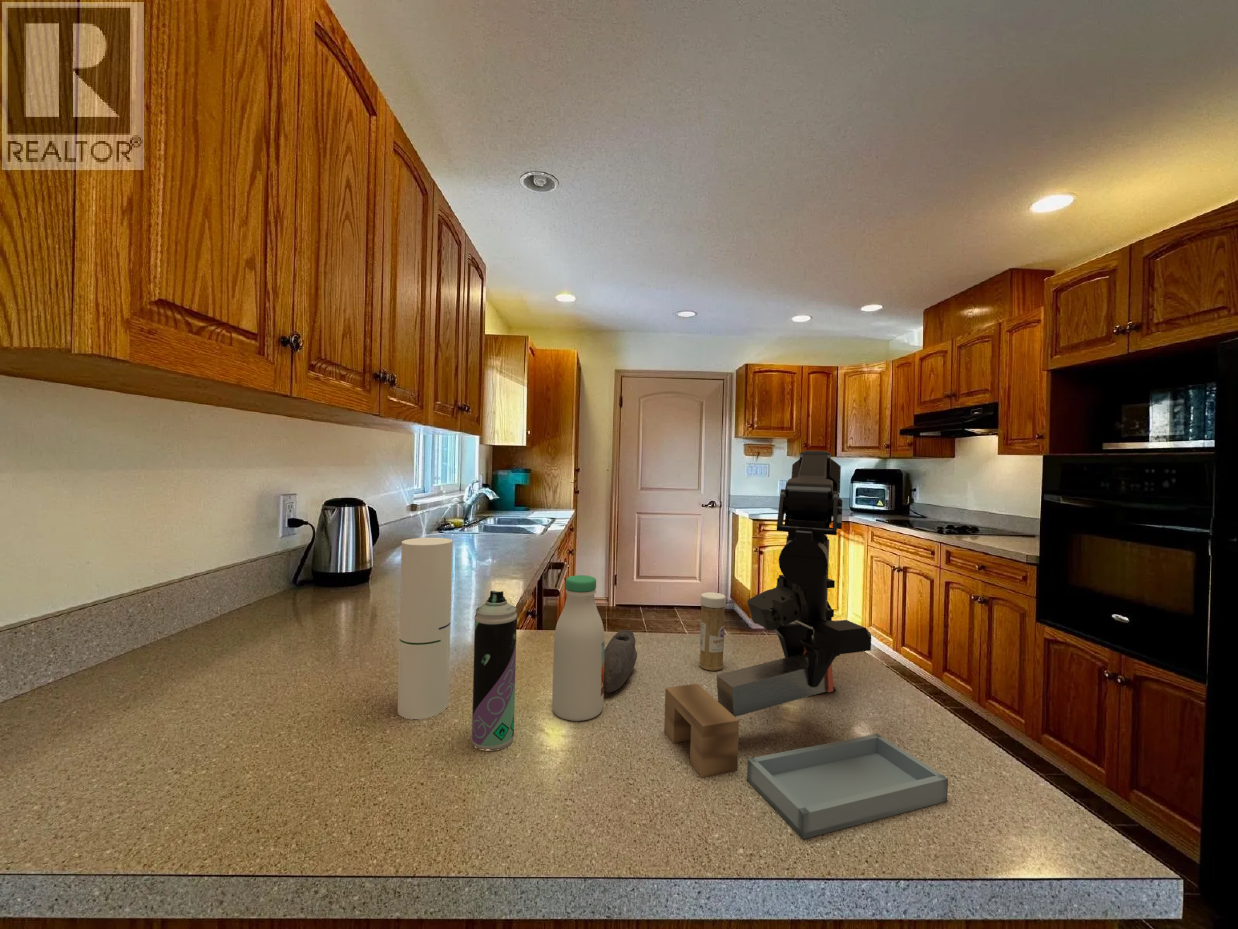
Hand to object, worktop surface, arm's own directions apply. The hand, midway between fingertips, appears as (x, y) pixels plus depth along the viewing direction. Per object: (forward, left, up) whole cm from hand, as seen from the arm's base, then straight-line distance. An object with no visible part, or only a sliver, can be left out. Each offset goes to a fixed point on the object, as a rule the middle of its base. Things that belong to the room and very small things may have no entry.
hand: (803, 680), depth 73 cm
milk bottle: (+29, -15, -8) cm, 33 cm away
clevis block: (+16, 0, -7) cm, 18 cm away
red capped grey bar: (+5, 0, -2) cm, 5 cm away
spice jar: (+1, -24, -8) cm, 25 cm away
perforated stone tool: (+20, -23, -8) cm, 31 cm away
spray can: (+42, -10, -8) cm, 44 cm away
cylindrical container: (+51, -22, -8) cm, 56 cm away
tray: (+4, +12, -7) cm, 15 cm away
